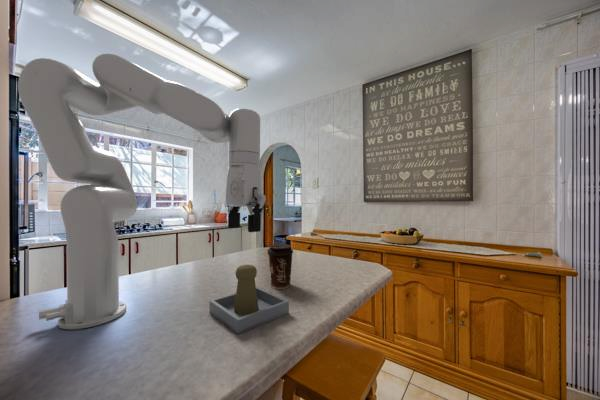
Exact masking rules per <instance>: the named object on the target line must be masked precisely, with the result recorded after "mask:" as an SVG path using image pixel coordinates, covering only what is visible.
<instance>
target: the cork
mask: <svg viewBox="0 0 600 400" xmlns="http://www.w3.org/2000/svg"><path fill="white" fill-rule="evenodd" d="M257 270H258V269H257V267H256V266H254V265H253V264H242V265H239V266H238V267H237V268H236V269H235V277H236V279H237V283H236V292H235V293H236V299H235V307H234V312H235V313H236V314H238V315H248V314H251V313H254V312H256V311H258V309H259V308H258V300H257V293H256V287H257V286H256V281H255V280H256V277H257V275H258V271H257Z"/></svg>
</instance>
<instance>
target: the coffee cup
mask: <svg viewBox="0 0 600 400" xmlns="http://www.w3.org/2000/svg"><path fill="white" fill-rule="evenodd" d="M293 253H294V250H293V248H292V247H291V244H285V243H277V244H271V245H269V248H268V249H267V255H268V260H269V271H270V272H269V273H270V287H271V288H272V289H275V290H278V289H279V290H284V289H287V288H289V287H290V286H291V275H292V267H293V264H292V263H293Z"/></svg>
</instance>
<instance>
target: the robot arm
mask: <svg viewBox="0 0 600 400" xmlns="http://www.w3.org/2000/svg"><path fill="white" fill-rule="evenodd" d="M91 67H92V73H93V76H94V78H95V79H96V80H97V82H95V81H94V80H92V79H91V78H89V77H88V76H86V75H84V74H82V73H81V72H80V71H78V70H77V69H75V68H73V67H71V66H70V65H67V64H66V63H63V62H61V61H58V60H56V59H52V58H44V57H41V58H35V59H33V60H31V61H29V62H28V63H26V65H25V66H23V68H22V70H21V72H20V74H19V76H18V77H19V78H18V82H17V90H18V95H19V100H20V102H21V104H22V107H23V109H24V110H25V112H26V113H27V116H28V118H29V119H30V122H31V123H32V124H33V127H34V128H35V131H36V133H37V136H38V138H39V141H40V143H41V146H42V148H43V150H44V152H45V154H46V155H45V156H46V157H47V159H48V162H49V164H50V167H51V168H52V170H53V172H54V174H55V175H56V177H58V178H59V179H61V180H63V181H65V182H68V183H69V182H71V183H76V184H85V185H79V186H76V187H73V188H71V189H69V190H68V191H67V192H66V193H65V194H64V195H63V197H62V198H61V202H60V213H61V217H62V221H63V225H64V228H65V229H64V230H65V235H66V237H65V239H66V278H67V279H66V286H67V287H66V288H67V289H66V291H67V293H66V294H67V296H66V298H67V299H65V301H64V304H60V305H59V306H58V307H53V308H47V309H42V310H39V311H38V320H40V321H41V320H45V319H46V322H49V321H52V320H56V319H58V321H57V326H58V327H59V328H60V329H62V330H80V329H81V330H83V329H87V328H92V327H96V326H99V325H103V324H105V323H108V322H111V321H113V320H115V319H116V320H117V319H118V318H119V317H121V316H122V315H124V313H126V312H127V304H126V303H125V302H123V301H119V300H120V299H119V297H120V295H119V293H120V292H119V291H120V287H119V285H120V283H119V282H120V281H119V279H120V278H119V277H120V276H119V272H120V271H119V267H120V266H119V263H120V262H119V238H118V233H117V231H116V228H115V226H114V223H118V222H123V221H127V220H129V219H130V218H132V217H133V216H134V215H135V213H136V212H137V209H138V198H137V196H136V192H135V190H134V189H133V188H134V187H133V186H132V183H131V181H130V178H129V175H128V174H127V171H126V168H125V166H124V165H123V163H122V161H121V160H120V159H119V158H118V157H117V156H116V155H115V154H114V153H112V152H110V151H108V150H104V149H102V148H98V147H96V146H94V145H93V143H92V142H91V141H90V138H89V136H88V133H87V132H86V130H85V126H84V124H83V123H82V121H81V120H80V118H79V117H78V116H77V114H75V112H74V111H73V110H72V108H73V109H76V110H78V111H80V112H82V113H85V114H88V115H92V116H104V115H109V114H114V113H117V112H120V111H124V110H130V109H133V108H134V109H135V108H136V107H141V108H143V109H145V110H146V111H148V112H150V113H152V114H155V115H161V114H164V115H165V116H167V117H170V118H172V119H175V120H176V121H179V122H180V123H182V124H184V125H186V126H188V127H190V128H192V129H193V130H195V131H197V133H199V134H201V135H202V137H204V138H206V140H208V141H209V142H212V143H216V144H219V143H228V144H229V145H228V148H229V149H228V150H229V151H228V166H229V168H228V170H227V171H228V172H227V177H226V185H225V186H226V187H225V188H226V189H225V204H226V207H227V216H228V217H227V219H228V220H227V227H228V228H229V229H238V228H241V212H239V211H240V210H241V207H246V208H247V211H248V213H249V214H247V232H248V233H256V232H257V233H258V232H261V230H262V229H261V228H262V225H261V223H262V215H263V210H264V208H265V203H266V200H267V196H266V195H265V194H264V193H263V192H262V177H261V175H262V174H261V168H260V165H261V116H260V114H259V113H258V112H257V111H255V110H253V109H248V108H236V109H234V110H232V111H231V112H230V114H227V113H225V112H224V111H223V109H222V108H221V107H220V105H219V104H218V103H216V102H215V101H214V100H212V99H211V98H209V97H207V96H205V95H203V94H201V93H199V92H197V91H195V90H194V89H192V88H190V87H188V86H186V85H184V84H181V83H178V82H175V81H171V80H166V79H165V78H163V77H160V76H158V75H157V74H155V73H153V72H151V71H149V70H147V69H145V68H143V67H142V66H139V65H138V64H136V63H135V62H132V61H130V60H128V59H126V58H124V57H122V56H119V55H117V54H112V53H102V54H99V55H97V56H96V57H95V58H94V60H93V62H92V65H91Z"/></svg>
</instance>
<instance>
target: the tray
mask: <svg viewBox="0 0 600 400" xmlns="http://www.w3.org/2000/svg"><path fill="white" fill-rule="evenodd" d="M256 293H257V300H258V308H259V309H258V311H256V312H254V313H251V314H248V315H238V314H236V313H235V312H234V307H235V299H236V292H235V293H231V294H227V295H224V296H220V297H218V298H212V299H210V300H209V313H210V315H212V316H213V317H215V318H216V319H217V320H218V321H220V322H221V323H222V324H224V326H226V327H228V328H229V329H230V330H231V331H233V332H234V333H235V334H237V335H240V334H241V335H242V334H243V333H245V332H247V331H248V332H249V331H251V330H252V329H255V328H257V327H260V326H263V325H265V324H267V323H269V322H271V321H275V320H276V319H279V318H281V317H283V316H285V315H288V314H290V301H289V300H288V299H285V298H283V297H281V296H278V295H276V294H273V293H271V292H269V291H267V290H265V289H263V288H261V287H258V286H256Z"/></svg>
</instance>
